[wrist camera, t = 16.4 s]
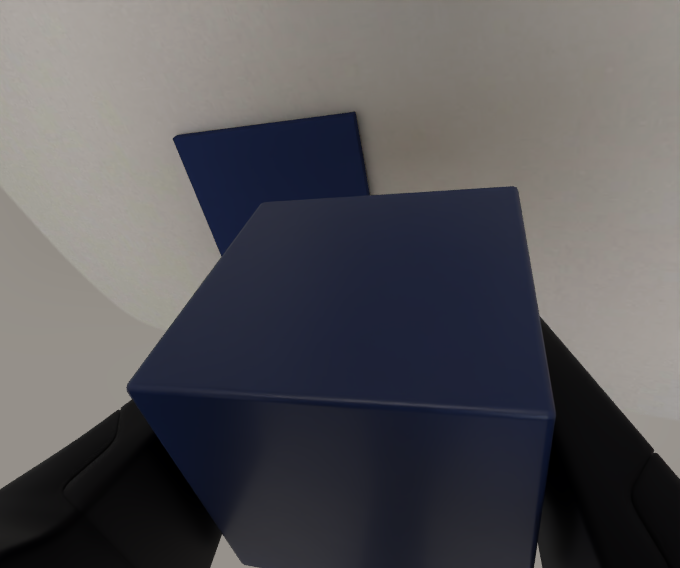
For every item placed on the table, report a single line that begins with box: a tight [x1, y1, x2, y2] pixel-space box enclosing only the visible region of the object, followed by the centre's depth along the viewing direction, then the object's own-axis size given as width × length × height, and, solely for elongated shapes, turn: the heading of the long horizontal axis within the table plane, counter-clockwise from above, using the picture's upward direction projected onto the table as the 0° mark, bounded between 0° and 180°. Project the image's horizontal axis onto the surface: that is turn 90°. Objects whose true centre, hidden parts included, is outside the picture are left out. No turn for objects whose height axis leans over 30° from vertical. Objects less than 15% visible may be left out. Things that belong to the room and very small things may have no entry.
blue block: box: [127, 186, 556, 568], centre depth 8 cm, size 5×5×5 cm
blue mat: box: [173, 112, 370, 256], centre depth 21 cm, size 8×8×1 cm
